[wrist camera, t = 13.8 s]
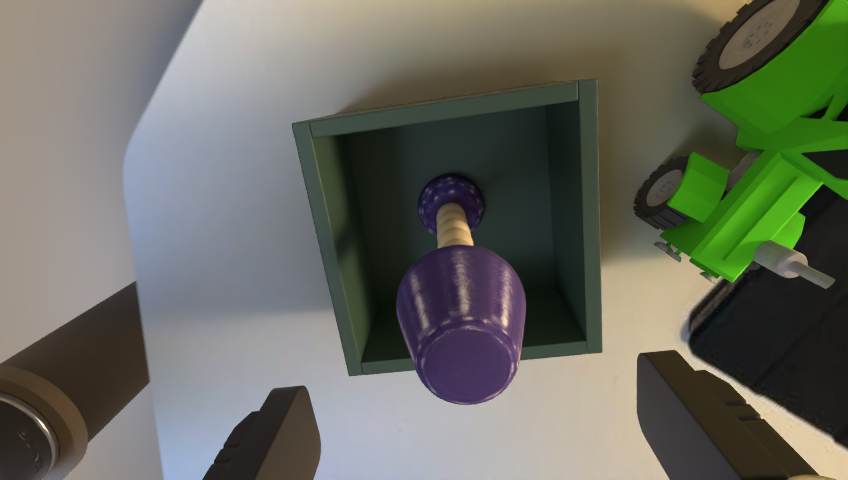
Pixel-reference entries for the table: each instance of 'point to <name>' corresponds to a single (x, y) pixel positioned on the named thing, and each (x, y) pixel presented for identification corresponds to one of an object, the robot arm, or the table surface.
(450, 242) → the toy lamp
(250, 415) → the robot arm
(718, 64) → the toy tractor
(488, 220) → the bin
